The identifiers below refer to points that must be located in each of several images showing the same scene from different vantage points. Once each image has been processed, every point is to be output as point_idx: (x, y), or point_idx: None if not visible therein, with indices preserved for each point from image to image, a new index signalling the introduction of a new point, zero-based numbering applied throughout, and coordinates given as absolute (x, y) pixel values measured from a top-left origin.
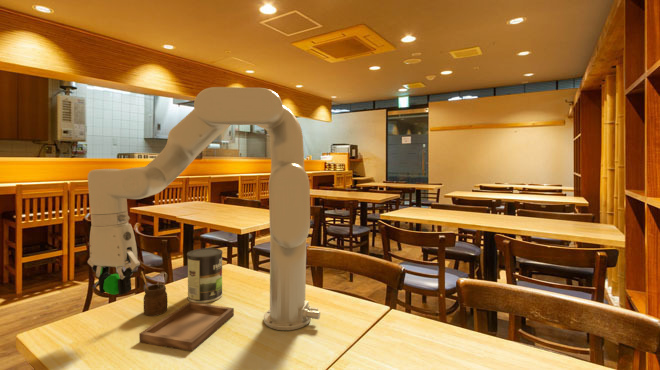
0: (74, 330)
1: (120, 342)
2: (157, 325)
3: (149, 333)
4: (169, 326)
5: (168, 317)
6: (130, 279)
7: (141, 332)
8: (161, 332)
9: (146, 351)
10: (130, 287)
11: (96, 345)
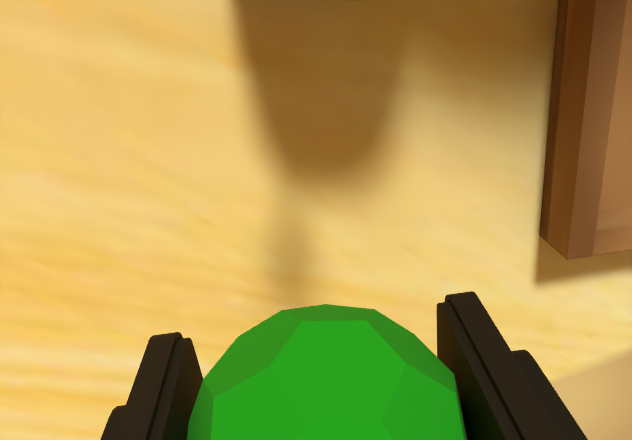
0: (78, 306)
1: (443, 274)
2: (605, 140)
3: (625, 236)
4: (625, 54)
5: (622, 22)
6: (536, 394)
7: (571, 247)
8: (620, 137)
9: (628, 271)
10: (526, 353)
11: None
